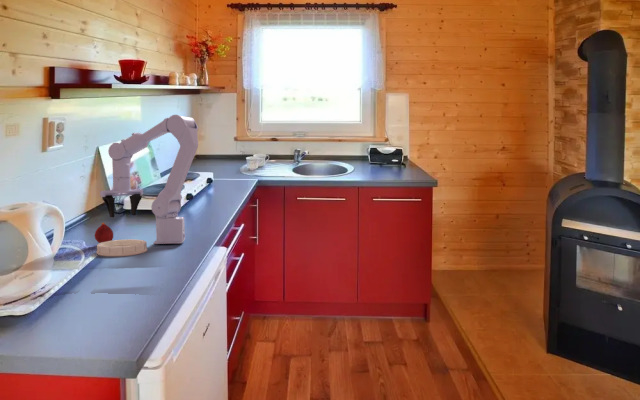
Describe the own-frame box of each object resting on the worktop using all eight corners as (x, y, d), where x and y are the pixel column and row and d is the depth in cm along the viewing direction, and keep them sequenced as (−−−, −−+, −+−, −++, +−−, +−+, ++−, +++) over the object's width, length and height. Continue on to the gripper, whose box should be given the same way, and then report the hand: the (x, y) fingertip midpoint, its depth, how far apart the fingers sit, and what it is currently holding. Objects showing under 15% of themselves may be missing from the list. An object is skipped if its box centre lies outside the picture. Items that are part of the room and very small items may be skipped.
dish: (151, 247, 164) (151, 238, 163) (141, 255, 149) (141, 246, 149) (104, 248, 161) (104, 239, 161) (90, 257, 147) (89, 248, 146)
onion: (116, 244, 168) (115, 221, 168) (109, 247, 163) (108, 223, 162) (99, 244, 168) (98, 221, 168) (92, 247, 163) (91, 223, 162)
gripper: (136, 176, 178) (137, 213, 179) (96, 177, 168) (97, 216, 169) (145, 177, 173) (146, 215, 174) (104, 178, 163) (105, 218, 164)
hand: (122, 216), depth 171 cm, fingers open, 7 cm apart
